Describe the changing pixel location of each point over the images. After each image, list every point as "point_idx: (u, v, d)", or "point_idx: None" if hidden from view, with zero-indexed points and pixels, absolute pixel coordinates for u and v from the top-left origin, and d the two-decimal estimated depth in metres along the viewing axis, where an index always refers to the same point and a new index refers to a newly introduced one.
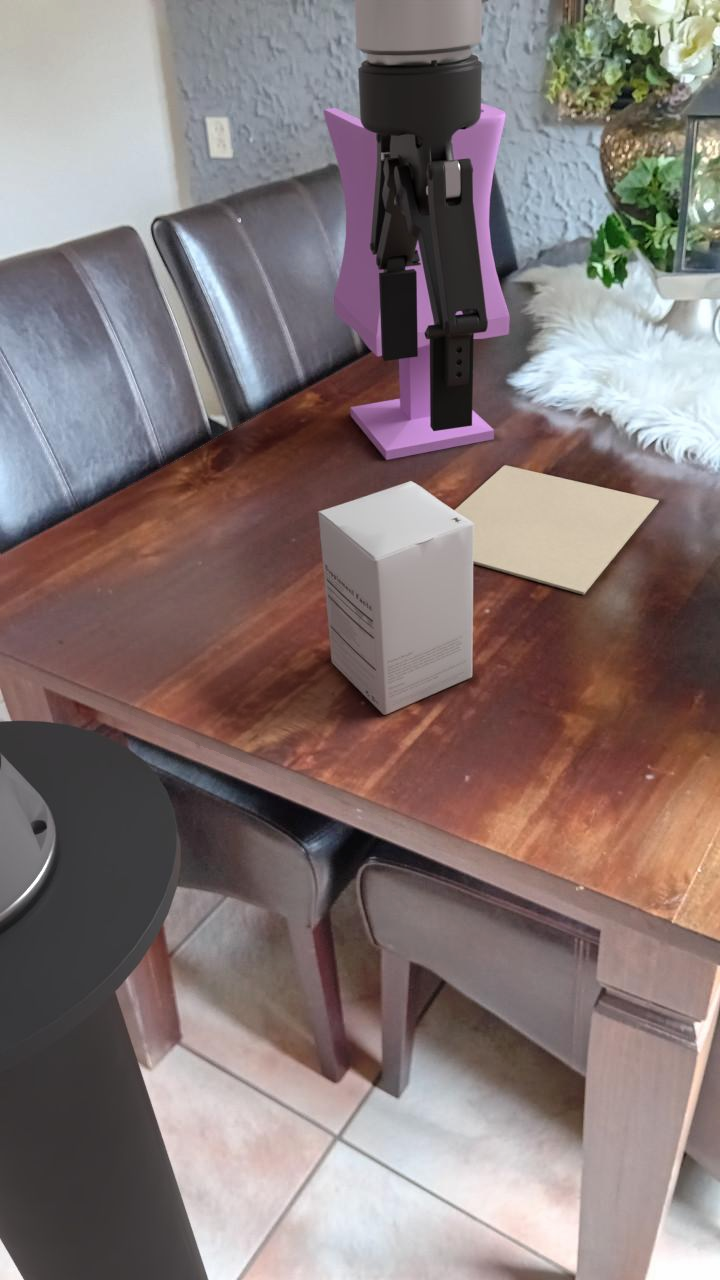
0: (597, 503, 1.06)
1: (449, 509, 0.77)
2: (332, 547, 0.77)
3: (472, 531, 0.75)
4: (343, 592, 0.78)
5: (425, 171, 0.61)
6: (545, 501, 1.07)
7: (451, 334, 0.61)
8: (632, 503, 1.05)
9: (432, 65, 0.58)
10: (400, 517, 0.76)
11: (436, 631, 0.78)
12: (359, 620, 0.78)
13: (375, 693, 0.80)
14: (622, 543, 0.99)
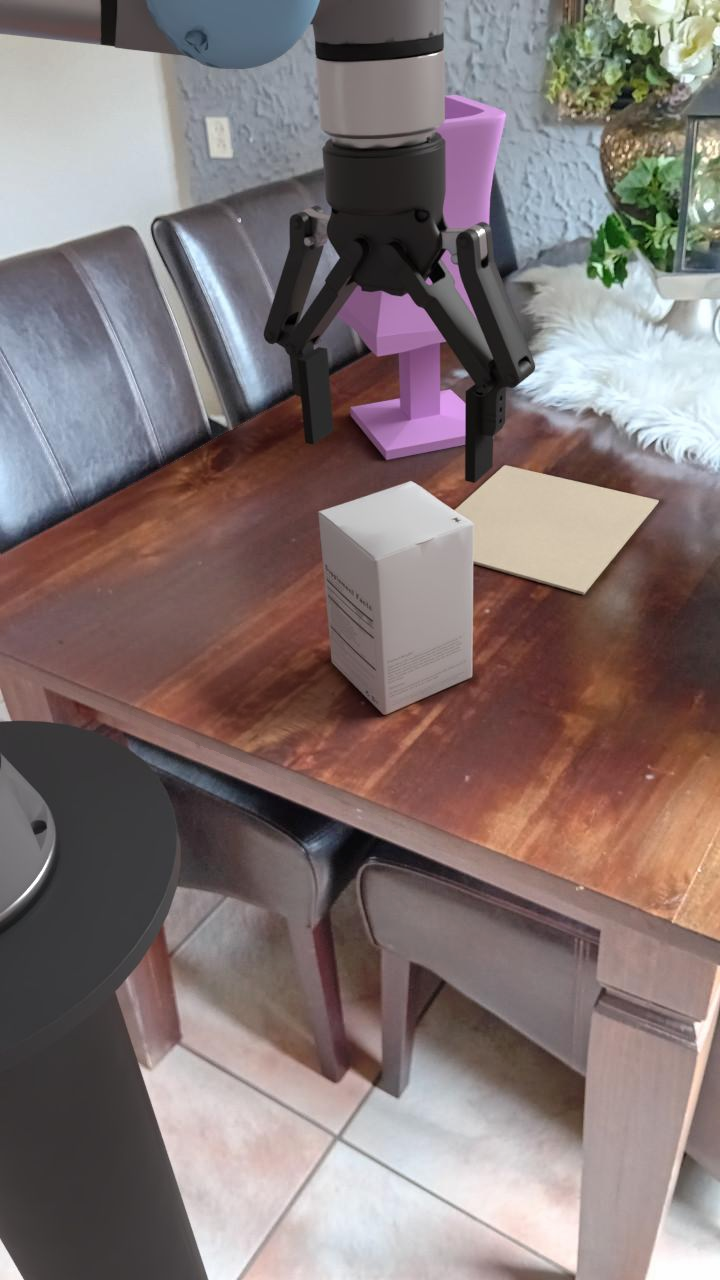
0: (597, 503, 1.06)
1: (449, 509, 0.77)
2: (332, 547, 0.77)
3: (472, 531, 0.75)
4: (343, 592, 0.78)
5: (436, 242, 0.62)
6: (545, 501, 1.07)
7: None
8: (632, 503, 1.05)
9: (429, 141, 0.59)
10: (400, 517, 0.76)
11: (436, 631, 0.78)
12: (359, 620, 0.78)
13: (375, 693, 0.80)
14: (622, 543, 0.99)
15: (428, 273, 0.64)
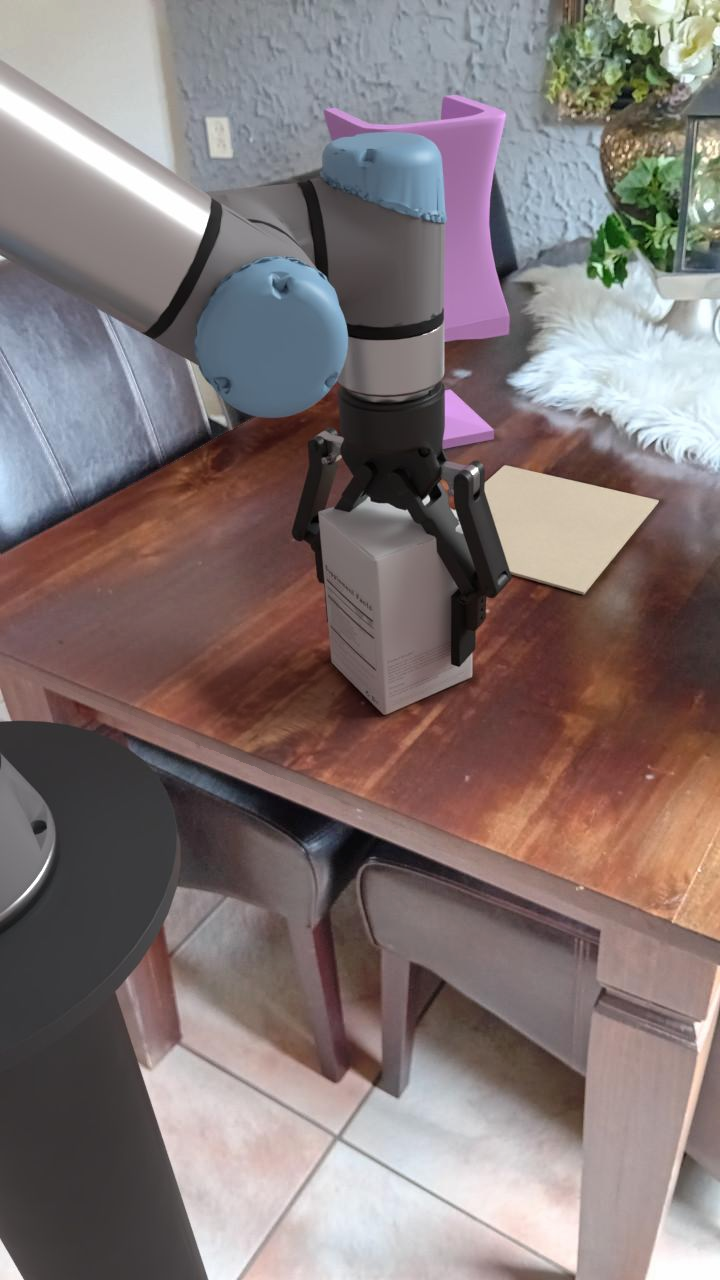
0: (597, 503, 1.06)
1: None
2: (332, 547, 0.77)
3: None
4: (343, 592, 0.78)
5: (436, 474, 0.71)
6: (545, 501, 1.07)
7: (495, 596, 0.73)
8: (632, 503, 1.05)
9: (430, 394, 0.68)
10: (400, 517, 0.76)
11: (436, 631, 0.78)
12: (359, 620, 0.77)
13: (375, 693, 0.80)
14: (622, 543, 0.99)
15: (427, 493, 0.73)
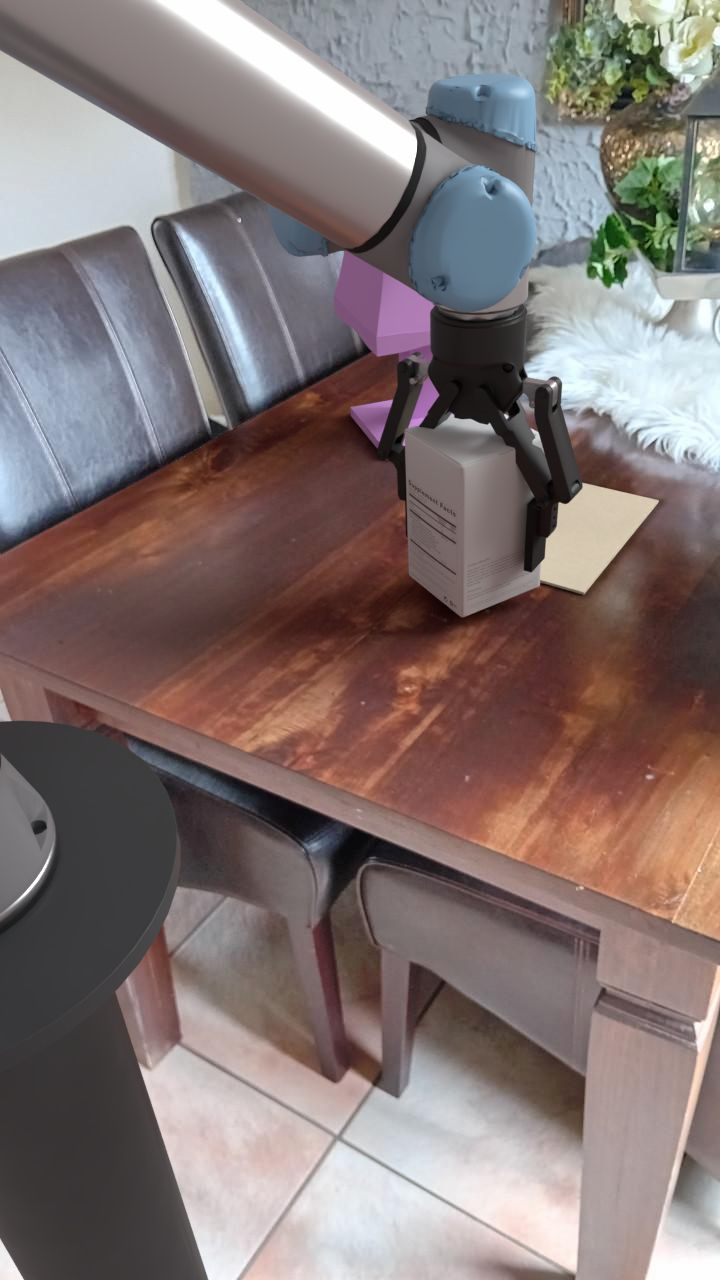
0: (597, 503, 1.06)
1: None
2: (417, 461, 0.85)
3: None
4: (426, 503, 0.86)
5: (518, 389, 0.78)
6: None
7: (569, 501, 0.81)
8: (632, 503, 1.05)
9: (515, 313, 0.76)
10: (480, 433, 0.83)
11: (510, 539, 0.86)
12: (441, 528, 0.85)
13: (454, 597, 0.88)
14: (622, 543, 0.99)
15: (507, 409, 0.81)
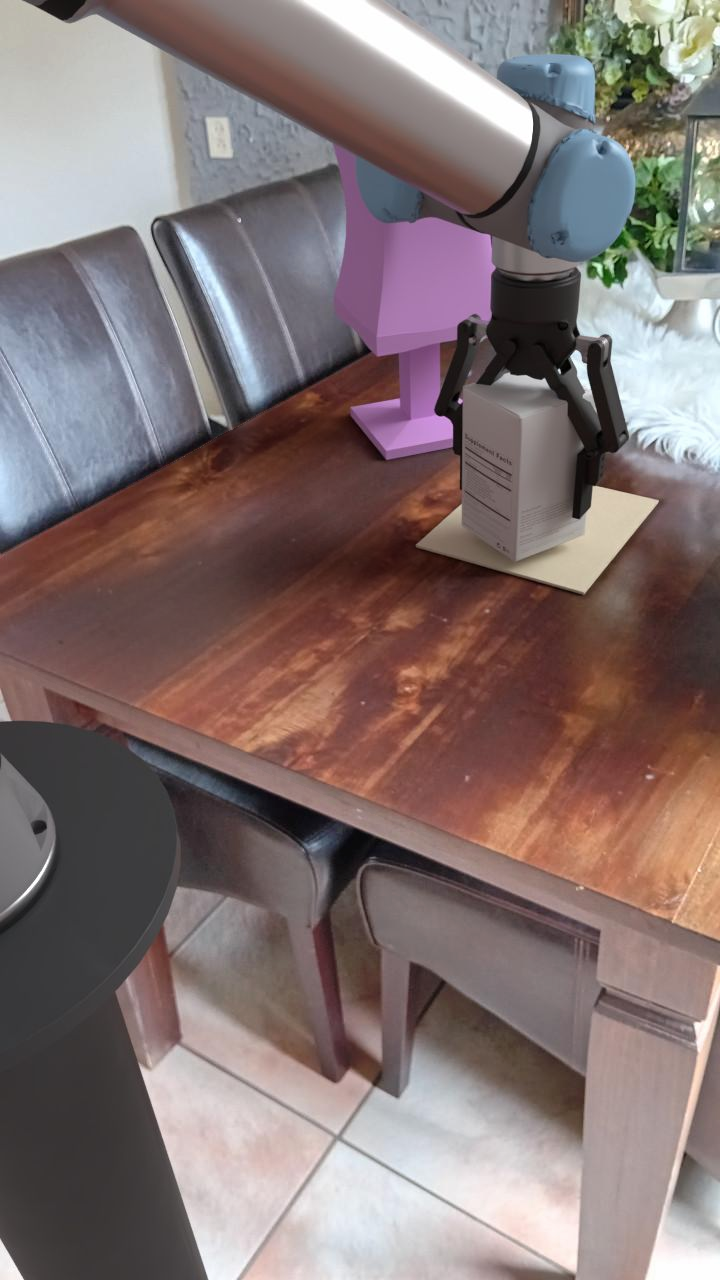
0: (597, 503, 1.06)
1: None
2: (475, 415, 0.92)
3: None
4: (482, 455, 0.93)
5: (572, 345, 0.85)
6: None
7: None
8: (632, 503, 1.05)
9: (571, 275, 0.83)
10: (534, 388, 0.90)
11: (560, 488, 0.93)
12: (497, 477, 0.92)
13: (507, 543, 0.95)
14: (622, 543, 0.99)
15: (560, 365, 0.88)
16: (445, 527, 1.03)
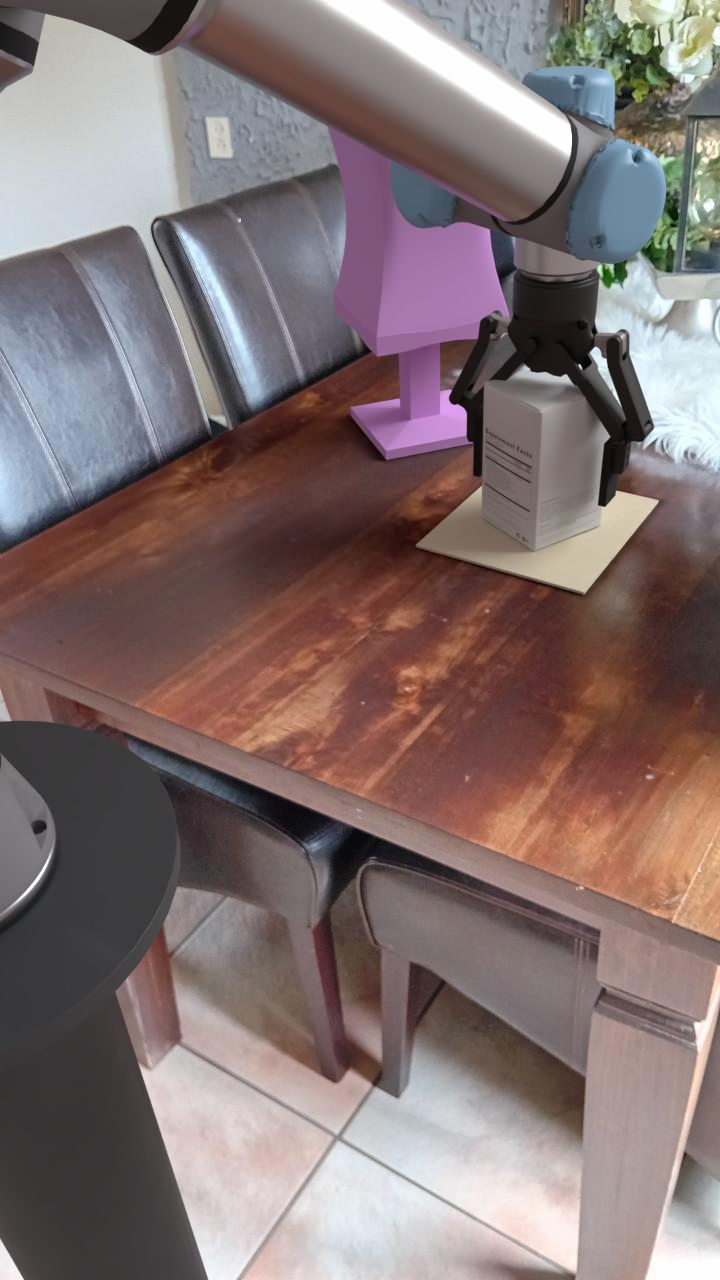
0: None
1: None
2: (495, 410, 0.96)
3: None
4: (503, 448, 0.97)
5: (591, 342, 0.89)
6: None
7: (643, 439, 0.91)
8: (632, 503, 1.05)
9: (590, 276, 0.87)
10: (553, 384, 0.94)
11: (578, 480, 0.97)
12: (517, 469, 0.96)
13: (526, 533, 0.98)
14: (622, 543, 0.99)
15: (581, 361, 0.92)
16: (445, 527, 1.03)
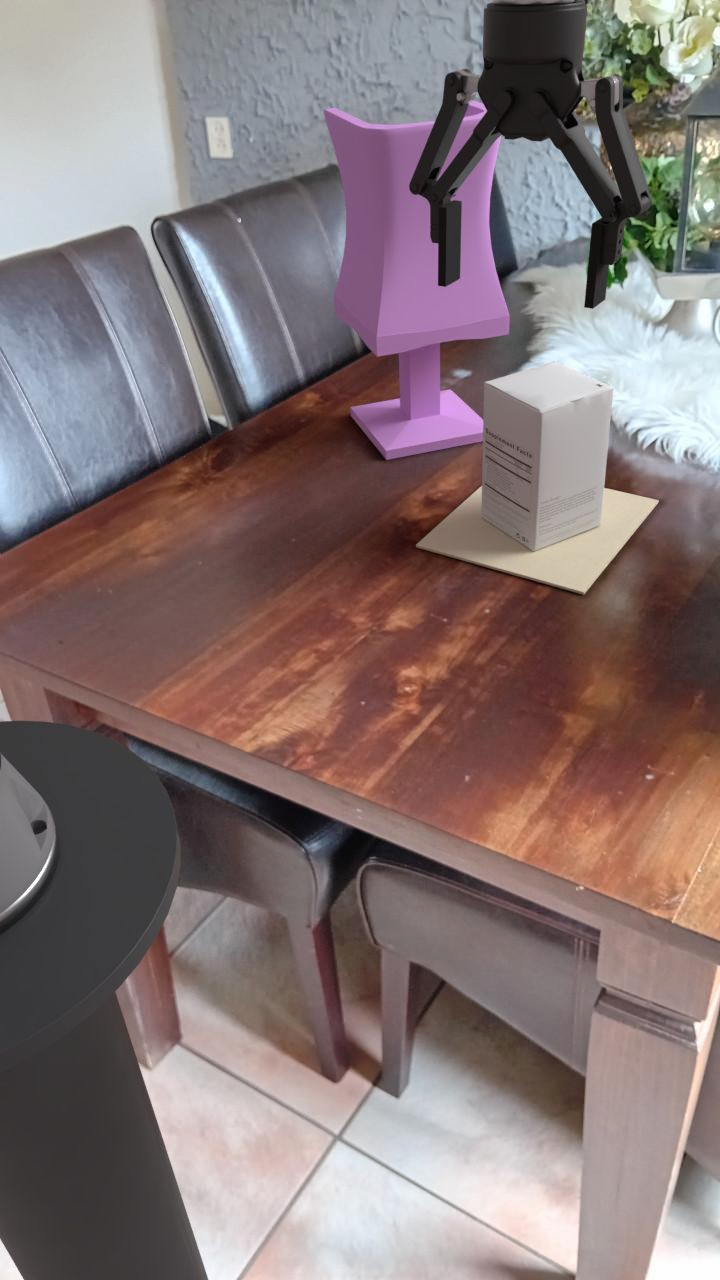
0: None
1: (591, 379, 0.95)
2: (495, 410, 0.96)
3: (612, 394, 0.93)
4: (503, 449, 0.97)
5: (576, 90, 0.74)
6: None
7: (639, 213, 0.76)
8: (632, 503, 1.05)
9: (576, 2, 0.72)
10: (553, 384, 0.94)
11: (578, 480, 0.97)
12: (517, 470, 0.96)
13: (526, 533, 0.98)
14: (622, 543, 0.99)
15: (564, 121, 0.77)
16: (445, 527, 1.03)
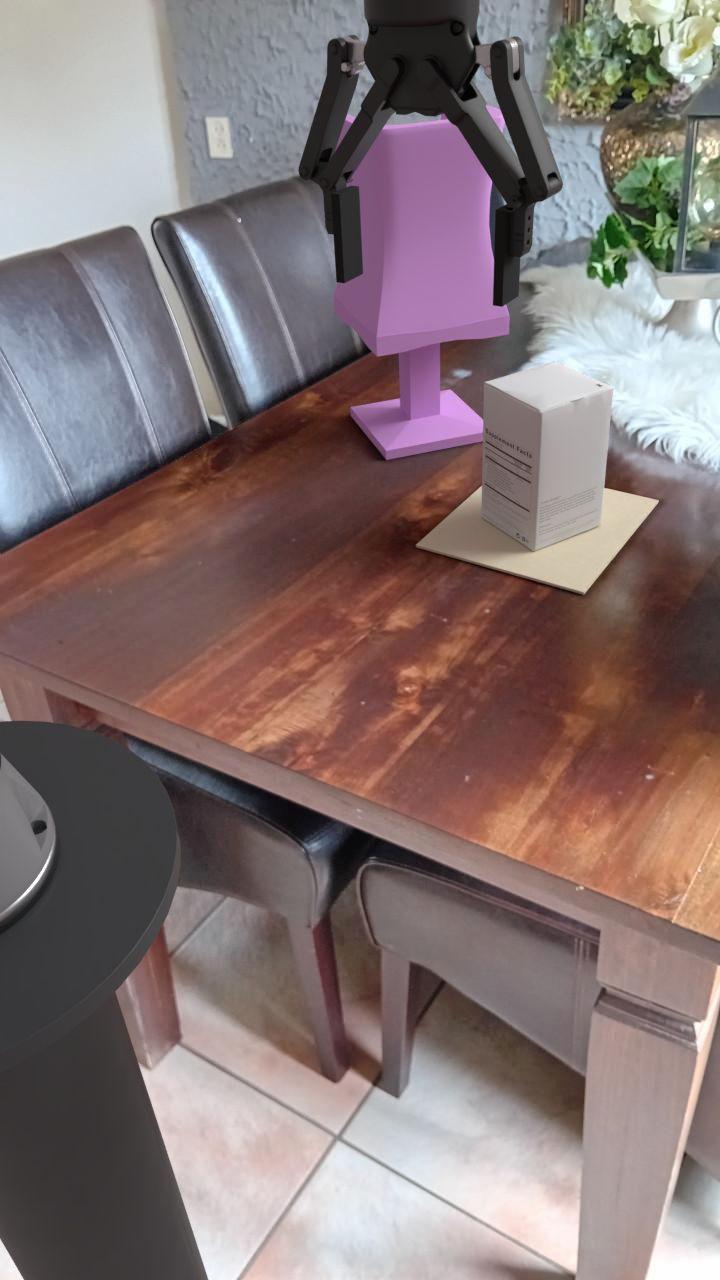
0: None
1: (591, 379, 0.95)
2: (495, 410, 0.96)
3: (612, 394, 0.93)
4: (502, 449, 0.97)
5: (470, 56, 0.64)
6: None
7: (547, 197, 0.66)
8: (632, 503, 1.05)
9: None
10: (552, 384, 0.94)
11: (578, 480, 0.97)
12: (517, 470, 0.96)
13: (526, 533, 0.98)
14: (622, 543, 0.99)
15: (461, 92, 0.67)
16: (445, 527, 1.03)
